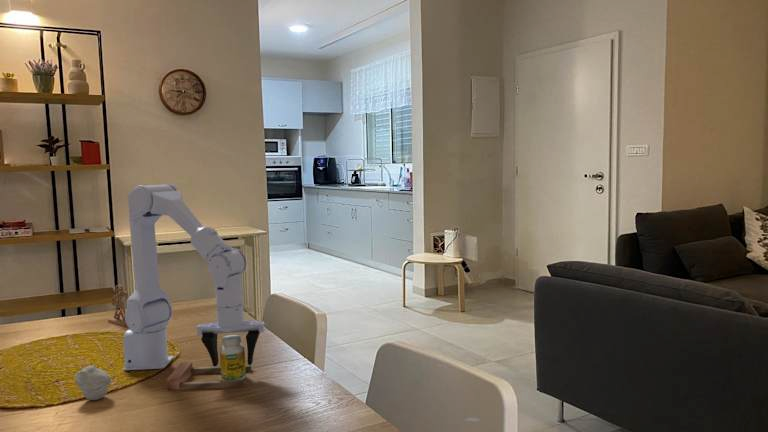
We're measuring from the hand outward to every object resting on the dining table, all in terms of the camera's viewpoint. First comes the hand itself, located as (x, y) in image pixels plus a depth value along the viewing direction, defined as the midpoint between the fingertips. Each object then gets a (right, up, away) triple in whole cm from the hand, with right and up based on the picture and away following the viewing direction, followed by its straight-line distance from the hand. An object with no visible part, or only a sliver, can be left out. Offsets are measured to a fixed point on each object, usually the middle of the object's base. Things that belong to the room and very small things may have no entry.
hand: (233, 364), depth 129 cm
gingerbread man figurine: (-48, 0, +50) cm, 69 cm away
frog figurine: (-26, -5, -9) cm, 28 cm away
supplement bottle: (0, -4, 0) cm, 4 cm away
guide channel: (-5, -4, 0) cm, 6 cm away
